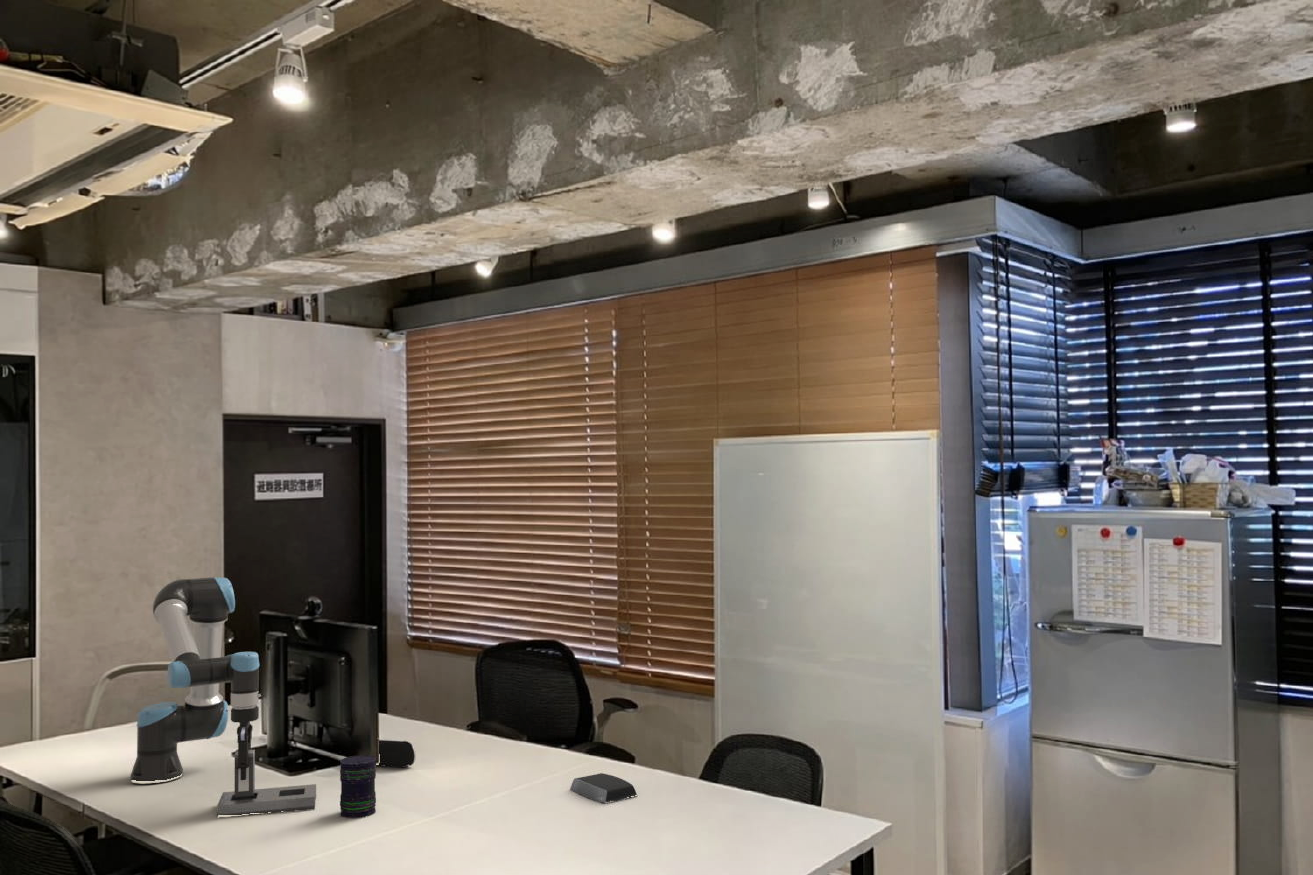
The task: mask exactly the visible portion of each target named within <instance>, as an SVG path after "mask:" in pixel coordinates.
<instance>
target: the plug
mask: <svg viewBox="0 0 1313 875" xmlns="http://www.w3.org/2000/svg"><path fill="white" fill-rule="evenodd" d="M255 751H256V750H255V749H251V750H248V765H249V766H248V767H249V791H240V792H238V769H236V767H238V750H236V751H235V753H234V791H235V794H234V797H243V796H253V795H254V792H255V789H256V788H255V787H256V786H255V783H256V781H255V780H256V776H255V774H256V773H255V772H256V771H255V770H256V769H255V766H256V765H255V763H256V762H255V761H256V760H255V759H256V758H255V757H256V756H255V755H256V752H255Z"/></svg>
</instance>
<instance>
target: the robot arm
mask: <svg viewBox="0 0 1313 875" xmlns="http://www.w3.org/2000/svg"><path fill="white" fill-rule="evenodd" d="M233 588H234V587H233V585H232V582H231V581H230V580H229V579H228V578H227V577H215V576H213V577H201V578H189V579H188V578H187V579H186V578H185V579H177V580H173V581H172V582H170V583H167V584H166V585H165V586H163V587H162V588H161V589H160V591H158V593H157V594H156V596H155V598H154V601H153V604H152V614H153V617H154V619H155V621H156V622H157V623H158V624H159V625H160V628H161V632H162V633H163V637H164V639H165V644H166V647H167V651H168V654H169V657H170V660H171V662H170V663H169V664H168V667H167V682H168V685H169V687H170V688H172V689H178V688H180V689H181V688H182V689H185V688H190V691H189V693H190V694H188V695H187V696H186V697H185V698H184V704H183V705H182V704H181V705H178V703H177V702H176V701H167V702H166V701H165V702H159V703H155V704H152V705H149V706H146V707H144V708H142V709H141V710H140V711H139V712H138V714H137V723H136V729H137V731H136V732H137V733H136V735H137V737H136V738H137V739H136V742H137V743H136V744H137V745H136V746H137V747H136V750H137V751H136V759H135V762H134V764H133V768H132V770H131V772H130V781H131V780H136V781H155V780H167V779H171V778H174V777H177V776H180V775H181V774H182V773H183V774H184V772H183V771H184V768H183V766H182V763H181V760H180V757H179V754H178V743H185V742H192V741H193V742H194V741H199V740H209V739H213V738H218V737H220V736H221V735H222V734H224V732H225V731H226V729H227V725H228V722H229V705H228V702H227V701H226V700H224V697H223V695H221V694H220V692H219V691H220V690H219V689H220V684H226V683H230V706H231V709H230V721H231V722H232V723H239V726H237V729H236V735H237V751H238V767H236V769H238V792H240V791H249V767H248V766H249V765H248V750H252V739H253V737H252V736H253V733H252V732H253V730H254V729H253V725H252V723H251V722H255V721H257V720H258V719H259V716H260V715H259V713H260V712H259V711H260V710H259V706H258V705H259V698H261V697H262V695H261V694H262V693H260V692H259V691H260V690H259V688H260V684H259V683H260V660H259V654H258V653H257V652H256V651H240V652H235V653H233V654H228V655H226V656H222V644H223V642H222V640H223V639H222V638H223V625H224V623H225V622H226V621H228V619H229V614H231V613H233V612H234V611H235V608H236V599H235V593H234V592H235V591H234V589H233ZM187 616H189V621H190V622H191V623H192V624H193V632H192V628H191V627H190V624H189V623H190V622H189V621H188V617H187Z"/></svg>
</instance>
